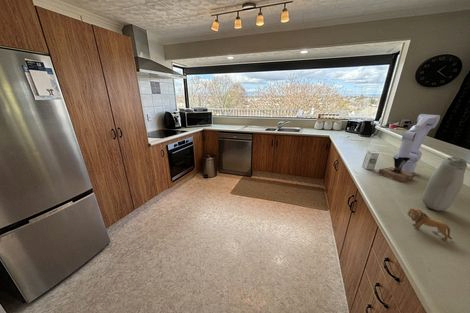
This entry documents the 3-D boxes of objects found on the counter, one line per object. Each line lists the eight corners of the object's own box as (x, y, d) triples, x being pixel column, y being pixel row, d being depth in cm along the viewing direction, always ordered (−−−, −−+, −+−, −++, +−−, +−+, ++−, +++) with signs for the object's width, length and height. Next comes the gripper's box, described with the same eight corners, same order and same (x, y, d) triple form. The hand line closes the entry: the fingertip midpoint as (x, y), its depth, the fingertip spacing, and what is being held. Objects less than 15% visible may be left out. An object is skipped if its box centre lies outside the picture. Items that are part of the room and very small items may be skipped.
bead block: (390, 171, 133) (391, 167, 132) (412, 179, 121) (414, 174, 119) (378, 173, 129) (379, 169, 127) (400, 181, 116) (401, 177, 115)
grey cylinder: (395, 170, 125) (400, 158, 122) (402, 172, 122) (406, 160, 119) (391, 170, 124) (396, 159, 121) (398, 173, 121) (403, 161, 117)
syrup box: (369, 167, 140) (374, 150, 135) (373, 170, 134) (379, 152, 129) (361, 166, 140) (366, 150, 135) (366, 169, 135) (371, 152, 130)
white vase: (451, 216, 83) (480, 163, 73) (422, 209, 88) (446, 158, 78) (442, 206, 91) (467, 157, 81) (415, 200, 96) (437, 153, 86)
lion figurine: (403, 226, 76) (410, 209, 73) (402, 220, 80) (409, 204, 76) (453, 244, 67) (464, 225, 64) (449, 236, 71) (459, 218, 68)
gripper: (405, 151, 112) (398, 170, 116) (418, 149, 116) (411, 167, 121) (393, 148, 118) (386, 166, 122) (406, 146, 122) (399, 164, 127)
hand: (398, 166), depth 122 cm, fingers closed on grey cylinder, 4 cm apart
